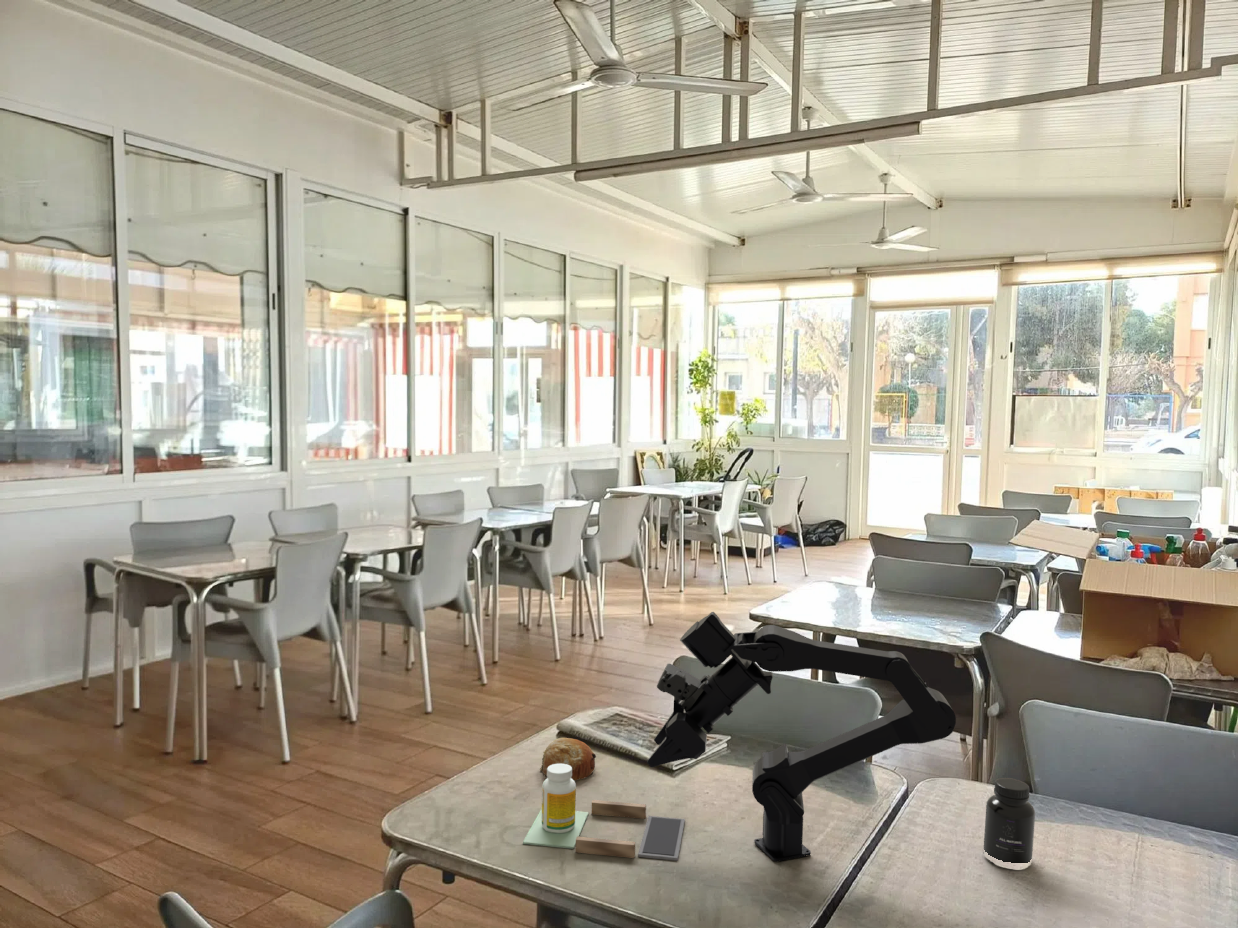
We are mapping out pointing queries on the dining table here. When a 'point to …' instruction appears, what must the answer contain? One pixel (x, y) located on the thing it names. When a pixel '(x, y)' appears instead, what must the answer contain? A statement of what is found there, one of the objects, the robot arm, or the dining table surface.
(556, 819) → the supplement bottle
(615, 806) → the walnut channel
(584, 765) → the bread roll
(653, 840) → the pit rectangle
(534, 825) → the pad
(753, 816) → the dining table surface
